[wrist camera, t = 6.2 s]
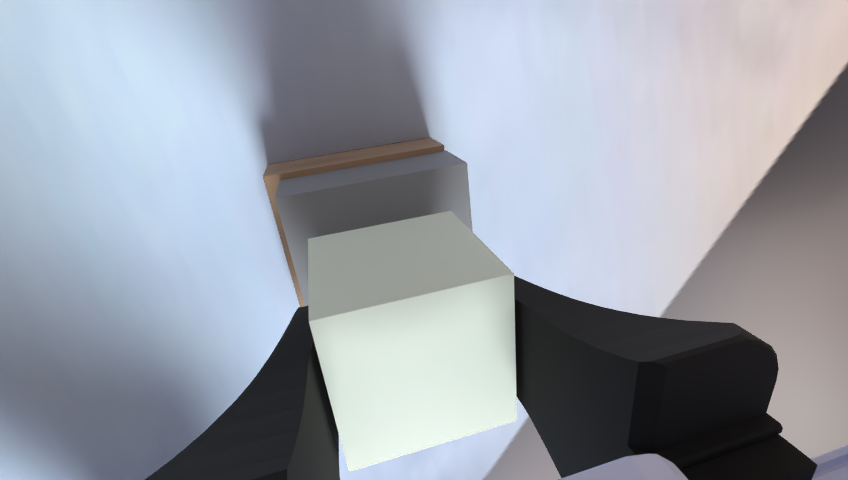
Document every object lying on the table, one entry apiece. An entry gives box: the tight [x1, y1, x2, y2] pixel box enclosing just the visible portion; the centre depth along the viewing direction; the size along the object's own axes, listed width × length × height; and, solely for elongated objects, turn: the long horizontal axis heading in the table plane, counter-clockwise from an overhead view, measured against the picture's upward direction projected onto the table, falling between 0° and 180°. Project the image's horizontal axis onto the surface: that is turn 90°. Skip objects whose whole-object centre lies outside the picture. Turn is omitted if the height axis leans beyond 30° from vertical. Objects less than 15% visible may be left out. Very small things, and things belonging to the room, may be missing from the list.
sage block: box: [308, 211, 517, 472], centre depth 12 cm, size 4×4×4 cm
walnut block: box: [263, 137, 444, 307], centre depth 19 cm, size 7×7×2 cm
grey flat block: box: [275, 151, 472, 306], centre depth 16 cm, size 6×6×2 cm
